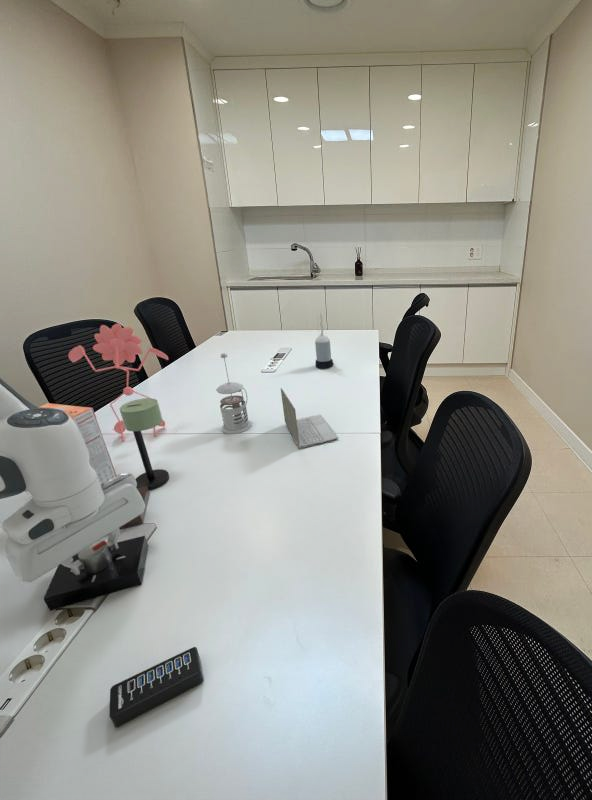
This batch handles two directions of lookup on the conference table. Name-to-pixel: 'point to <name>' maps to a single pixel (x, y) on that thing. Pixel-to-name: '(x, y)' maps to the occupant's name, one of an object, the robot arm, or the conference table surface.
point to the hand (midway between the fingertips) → (96, 560)
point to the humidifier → (323, 350)
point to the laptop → (306, 426)
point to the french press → (233, 422)
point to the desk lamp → (138, 419)
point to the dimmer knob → (96, 557)
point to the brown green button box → (140, 519)
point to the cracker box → (90, 439)
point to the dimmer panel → (99, 576)
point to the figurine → (117, 357)
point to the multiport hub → (155, 686)
